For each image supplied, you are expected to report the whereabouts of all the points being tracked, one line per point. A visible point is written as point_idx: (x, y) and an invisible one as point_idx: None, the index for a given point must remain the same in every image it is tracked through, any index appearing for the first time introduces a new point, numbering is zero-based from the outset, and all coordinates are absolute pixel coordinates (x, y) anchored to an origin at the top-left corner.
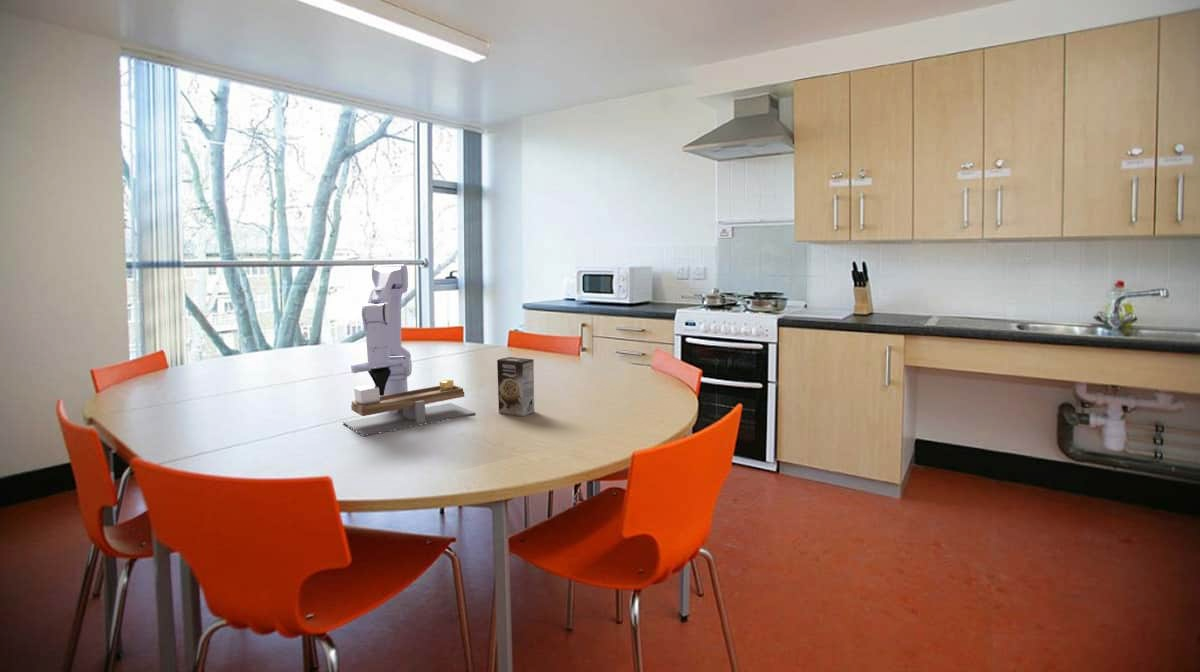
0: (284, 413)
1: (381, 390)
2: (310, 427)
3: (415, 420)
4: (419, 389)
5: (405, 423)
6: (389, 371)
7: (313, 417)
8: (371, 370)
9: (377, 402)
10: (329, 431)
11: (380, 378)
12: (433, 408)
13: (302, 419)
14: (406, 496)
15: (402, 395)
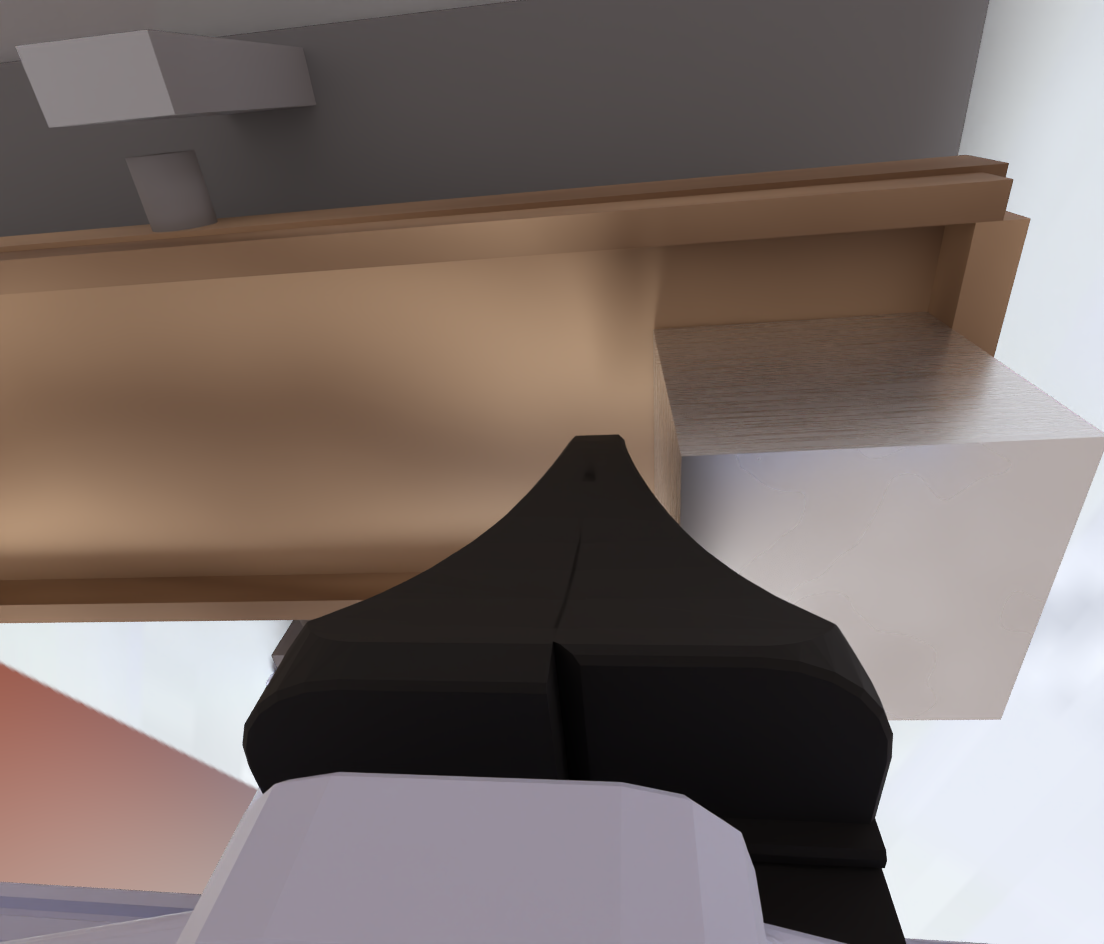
0: (991, 935)
1: (610, 460)
2: (1101, 610)
3: (308, 195)
4: (91, 611)
5: (425, 135)
6: (307, 659)
7: (922, 799)
8: (891, 924)
9: (699, 341)
10: (1084, 408)
11: (632, 578)
12: None
13: (1000, 799)
14: None
15: (306, 578)
